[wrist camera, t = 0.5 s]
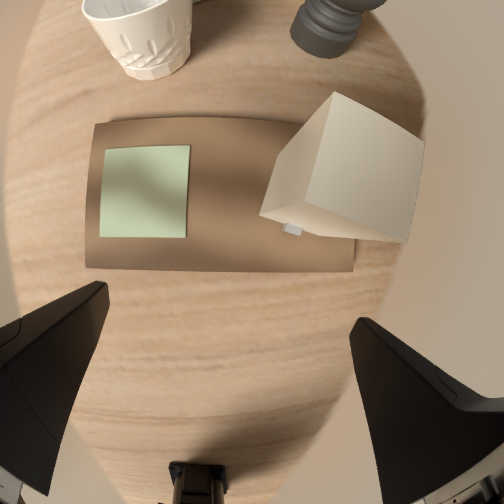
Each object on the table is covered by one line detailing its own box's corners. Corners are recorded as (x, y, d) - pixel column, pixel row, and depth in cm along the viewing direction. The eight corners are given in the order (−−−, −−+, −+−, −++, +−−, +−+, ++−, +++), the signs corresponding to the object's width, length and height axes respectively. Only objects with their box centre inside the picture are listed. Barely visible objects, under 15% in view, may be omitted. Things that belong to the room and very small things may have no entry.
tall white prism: (316, 243, 21) (403, 256, 10) (256, 222, 21) (299, 216, 10) (337, 170, 21) (425, 132, 10) (280, 148, 20) (336, 81, 9)
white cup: (147, 101, 20) (113, 35, 10) (104, 62, 19) (66, 3, 9) (214, 51, 20) (216, -24, 10) (165, 17, 19) (152, -48, 9)
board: (345, 269, 23) (381, 281, 17) (93, 265, 21) (57, 276, 15) (346, 137, 22) (380, 115, 16) (101, 129, 20) (72, 103, 14)
